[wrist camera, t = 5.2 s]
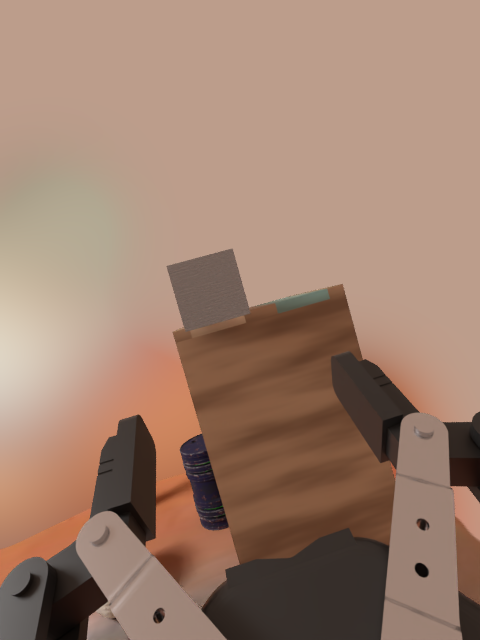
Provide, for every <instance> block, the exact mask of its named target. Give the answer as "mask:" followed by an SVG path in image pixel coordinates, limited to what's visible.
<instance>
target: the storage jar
mask: <svg viewBox="0 0 480 640" xmlns="http://www.w3.org/2000/svg"><path fill="white" fill-rule="evenodd" d="M180 452H181V455H182V459H183V465H184V468H185V470H186V475H187V477H188V479H189V480H190V482H191V486H192V489H193V493H194V494H193V497H194V501H195V506H196V509H197V512H198V514H199V517H200V521H201V524H202V526H203V527H204V528H206V529H208V530H221V529H225V528H227V527H229V524H228V521H227V518H226V514H225V511H224V507H223V504H222V500H221V497H220V494H219V490H218V487H217V483H216V480H215V476H214V473H213V469H212V466H211V463H210V459H209V456H208V452H207V449H206V445H205V442H204V438H203V435H202V434H200V435H197V436H195V437H193V438H191V439H189V440H188V441H187V442H185V443H184V444H183V445H182V446H181V448H180Z"/></svg>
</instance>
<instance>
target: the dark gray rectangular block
mask: <svg viewBox="0 0 480 640" xmlns="http://www.w3.org/2000/svg"><path fill="white" fill-rule="evenodd" d="M167 269H168V273H169V276H170V280H171V283H172V287H173V290H174V293H175V297H176V300H177V304H178V307H179V311H180V314H181V318H182V321H183V325H184V328H185V332H187V331H191V330H194V329H198V328H201V327H205V326H208V325H212V324H215V323H219V322H222V321H226V320H230V319H233V318H237V317H240V316H244V315H247V314H251V313H250V310H249V306H248V303H247V299H246V295H245V292H244V288H243V285H242V281H241V278H240V274H239V270H238V267H237V263H236V260H235V256H234V253H233V249H229V250H225V251H221V252H218V253H214V254H210V255H207V256H203V257H199V258H195V259H192V260H188V261H185V262H181V263H177V264H173V265H169V266H167Z"/></svg>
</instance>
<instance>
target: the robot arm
mask: <svg viewBox="0 0 480 640" xmlns="http://www.w3.org/2000/svg"><path fill="white" fill-rule="evenodd" d="M331 370H332V384H333V388H334V391H335V394H336V396H337V397H338V399H339V401H340V402H341V404H342V405H343V407H344V408H345V410H346V411H347V413H348V414H349V416H350V417H351V419H352V421H353V422H354V424H355V425H356V427H357V428H358V430H359V431H360V433H361V434H362V436H363V437H364V439H365V440H366V442H367V444H368V445H369V447H370V448H371V450H372V451H373V453H374V454H375V456H376V457H377V459H378V460H379V462H380V463H383V462H386V461H389V460H390V462H391V463H392V464H393V466H394V467H395V469H396V481H395V491H394V502H393V513H392V523H391V534H390V545H387V544H385V543H382V542H380V541H377V540H374V539H370V538H365V537H353V535H352V533H351V531H350V529H349V528H346V529H343V530H340V531H337V532H334V533H332V534H329V535H326V536H323V537H320V538H318V539H317V540H315V541H314V542H313V543H311V544H310V545H308V546H307V547H306V548H304V549H303V550H301V551H300V552H299V553H297V554H296V555H295V556H293V557H291V558H276V559H255V560H252V561H249V562H246V563H243V564H241V565H238V566H235V567H232V568H229V569H226V577H227V580H226V581H225V582H224V583H222V584H221V585H220V586H219V587H218V588H217V589H216V590H215V591H214V592H213V593H212V594H211V596H210V597H209V598H208V600H207V601H206V603H205V604H204V606H203V608H202V609H200V608H199V607H198V606H197V605H196V604H195V602H194V601H193V600H192V599H191V598H190V597H189V596H188V594H187V593H186V592H185V591H184V590H183V589H182V587H181V586H180V585H179V584H178V583H177V582H176V581H175V579H174V578H173V577H172V576H171V575H170V574H169V572H168V571H167V570H166V569H165V568H164V567H163V566H162V564H161V563H160V562H159V561H158V560H157V559H156V558H155V557H154V556H153V555H152V554H151V553H150V552H149V551H148V550H147V549H146V547H145V544H146V541H149V540H152V539H155V538H156V449H155V444H154V441H153V439H152V436H151V435H150V433H149V431H148V429H147V427H146V425H145V423H144V421H143V419H142V418H141V416H140V415H136V416H132V417H129V418H126V419H122V420H120V421H119V424H118V431H117V435H116V436H113V437H109V439H108V440H107V442H106V444H105V446H104V447H103V449H102V452H101V457H100V466H99V469H98V476H97V481H96V486H95V492H94V498H93V503H92V509H91V515H90V519H89V520H88V521H87V522H86V523H85V525H84V526H83V527H82V529H81V530H80V532H79V534H78V537H77V540H76V541H74V542H73V543H72V544H71V545H70V546H68V547H67V548H65V549H64V550H62V551H61V552H59V553H58V554H56V555H55V556H53V557H52V558H50V559H49V560H47V561H45V560H44V559H43V558H40V557H33V558H29V559H27V560H25V561H23V562H22V563H20V564H19V565H18V566H16V567H15V568H14V569H13V570H12V571H11V572H10V574H9V575H8V576H7V577H6V579H5V580H4V582H3V583H2V585H1V587H0V640H86V639H87V629H88V618H89V616H90V615H91V614H92V613H94V612H95V611H96V610H98V609H99V608H100V607H102V606H103V605H104V604H106V603H107V602H108V601H109V603H110V604H109V607H110V609H111V611H112V613H113V614H114V616H115V617H116V619H117V620H118V622H119V623H120V625H121V627H122V628H123V630H124V631H125V633H126V634H127V636H128V637H129V639H130V640H480V605H479V604H477V603H476V602H474V601H473V600H471V599H470V598H468V597H467V596H465V595H464V594H462V593H461V592H459V591H458V577H457V554H456V531H455V508H454V493H453V490H452V488H450V486H467V487H468V488H469V489H470V491H471V492H472V493H473V495H474V496H475V497H476V498H477V500H478V501H479V502H480V412H478V413H476V414H475V416H474V417H473V420H472V422H456V423H455V422H451V423H448V422H447V423H446V422H441V421H440V420H439V419H437V418H436V417H434V416H432V415H429V414H426V413H420V412H419V411H418V410H417V409H416V408H415V407H414V406H413V405H412V404H411V403H410V402H409V400H408V399H407V398H406V397H405V396H404V395H403V394H402V393H401V392H400V390H399V389H398V388H397V387H396V386H395V385H394V384H392V381H391V380H390V379H389V378H388V377H387V376H386V375H385V374H384V373H383V372H382V370H381V369H380V368H379V367H378V366H377V365H375V364H373V363H371V362H369V361H368V360H366V359H365V360H362V361H358V360H357V359H356V357H355V356H354V355H353V354H352V353H351V352H350V351H347V352H344V353H341V354H337V355H334V356H332V357H331Z"/></svg>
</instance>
